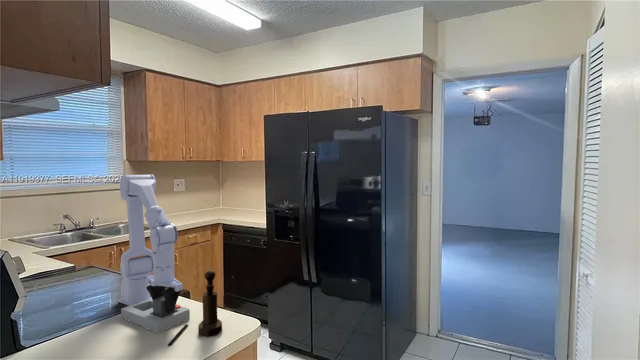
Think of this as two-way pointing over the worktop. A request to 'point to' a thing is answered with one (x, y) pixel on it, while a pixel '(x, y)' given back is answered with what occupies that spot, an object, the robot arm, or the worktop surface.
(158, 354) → the worktop surface
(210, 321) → the dark brown pepper mill
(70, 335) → the worktop surface
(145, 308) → the socket plate
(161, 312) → the plug
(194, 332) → the worktop surface
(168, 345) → the thin black rod
